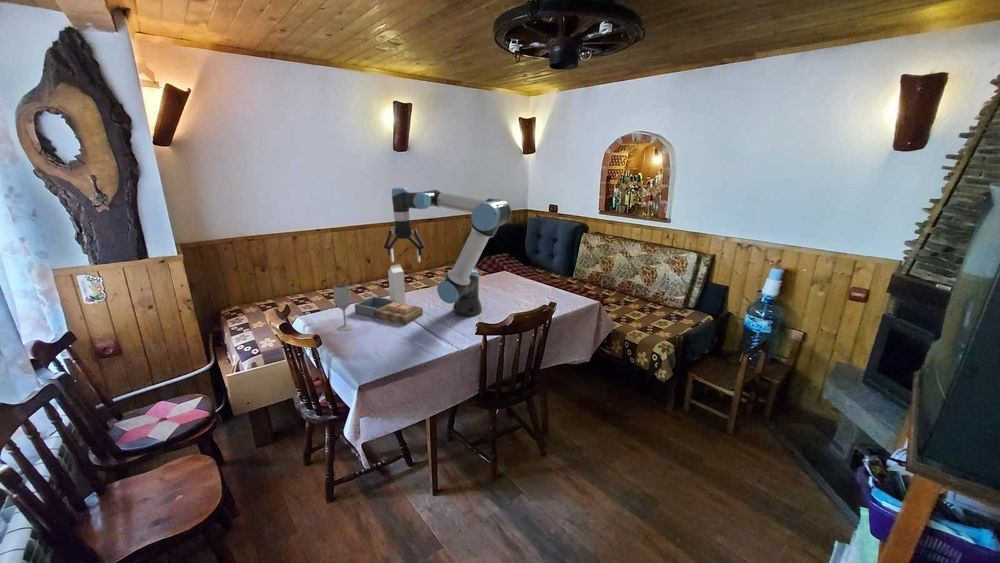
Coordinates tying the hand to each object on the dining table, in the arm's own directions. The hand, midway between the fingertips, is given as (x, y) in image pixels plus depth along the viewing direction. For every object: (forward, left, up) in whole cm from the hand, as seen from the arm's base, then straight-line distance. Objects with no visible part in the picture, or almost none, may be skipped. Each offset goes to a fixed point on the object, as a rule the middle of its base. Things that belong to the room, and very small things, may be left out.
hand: (405, 261), depth 199 cm
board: (-2, +9, -26) cm, 28 cm away
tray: (+14, +9, -26) cm, 31 cm away
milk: (+10, -5, -27) cm, 29 cm away
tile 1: (+1, +9, -22) cm, 24 cm away
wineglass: (+13, +31, -26) cm, 43 cm away
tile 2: (-5, +9, -22) cm, 25 cm away
